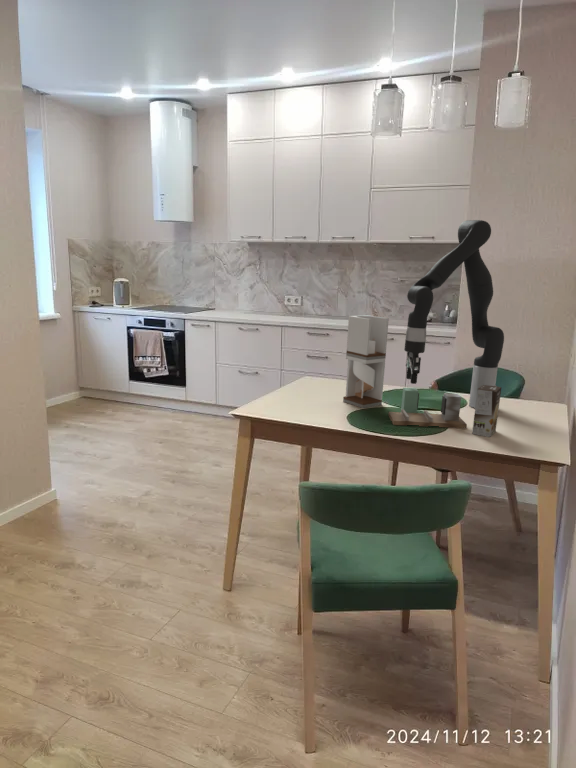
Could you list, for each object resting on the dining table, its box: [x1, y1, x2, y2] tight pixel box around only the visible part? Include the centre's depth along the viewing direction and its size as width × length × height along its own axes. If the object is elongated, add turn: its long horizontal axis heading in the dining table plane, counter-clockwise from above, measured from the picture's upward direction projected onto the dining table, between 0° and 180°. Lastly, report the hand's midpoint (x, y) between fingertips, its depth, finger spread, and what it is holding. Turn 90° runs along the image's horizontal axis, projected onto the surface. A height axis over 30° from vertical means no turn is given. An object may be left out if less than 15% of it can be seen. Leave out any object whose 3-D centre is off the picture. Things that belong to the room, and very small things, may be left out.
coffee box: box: [471, 385, 502, 438], centre depth 193 cm, size 9×6×16 cm
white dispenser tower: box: [342, 315, 390, 409], centre depth 223 cm, size 11×11×35 cm
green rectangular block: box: [400, 387, 420, 413], centre depth 216 cm, size 6×5×9 cm
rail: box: [387, 392, 468, 429], centre depth 203 cm, size 26×12×10 cm, turn 89°
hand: (411, 381), depth 214 cm, fingers open, 8 cm apart
